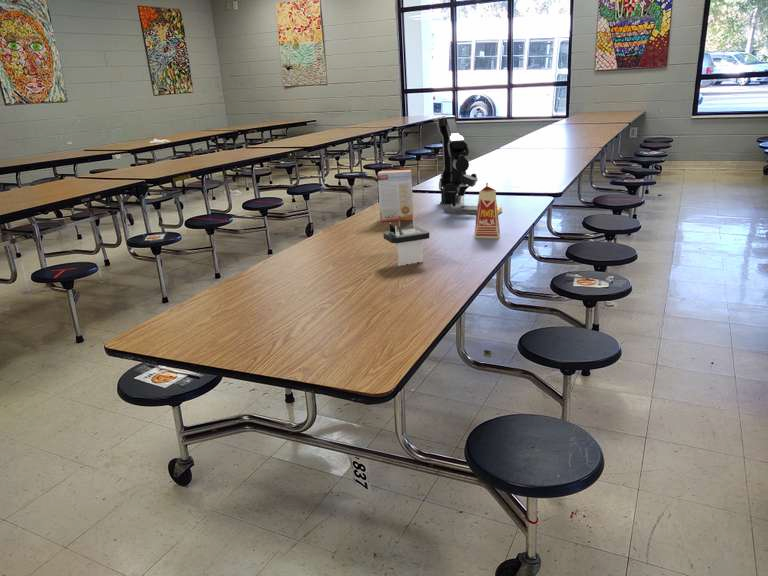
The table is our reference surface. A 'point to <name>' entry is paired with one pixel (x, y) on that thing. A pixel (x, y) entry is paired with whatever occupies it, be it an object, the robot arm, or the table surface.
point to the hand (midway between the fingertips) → (457, 204)
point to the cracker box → (395, 195)
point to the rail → (465, 209)
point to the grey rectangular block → (459, 202)
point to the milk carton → (487, 215)
